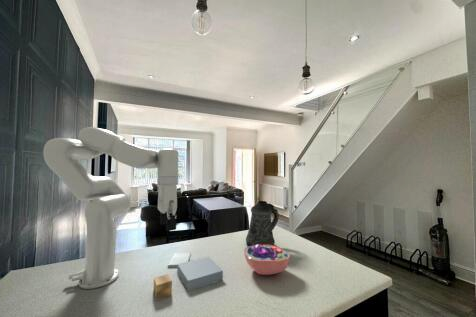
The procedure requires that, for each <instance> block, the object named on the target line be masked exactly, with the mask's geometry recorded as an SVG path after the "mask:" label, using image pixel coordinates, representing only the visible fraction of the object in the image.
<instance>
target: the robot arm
mask: <svg viewBox="0 0 476 317" xmlns="http://www.w3.org/2000/svg"><path fill="white" fill-rule="evenodd" d="M42 153H43V159H44V162H45V164H46V166H48V168H49V170H51V171H52V172H53V173H54V174H55V175H56V176H58V178H59V179H60V180H61V181H62V183H63V184H64V185H65V186H66V187H67V188H68V190H69V191H70V192H71V194H72V195H74V197H75V198H76V199H77V200H78V201H82V202H88V201H89V202H88V203H87V204H86V206H85V208H84V219H85V225H86V242H85V255H84V256H85V257H84V258H85V259H84V268H83V269H82V270H80V271H79V272H72V273H69V274H68V280H71V282H75V281H78V287H79V288H81V289H85V290H86V289H87V290H91V289H92V290H93V289H98V288H101V287H104V286H107V285H109V284H110V283H112V282H114V281H115V280H116V279H117V278H118V277H119V274H120V272H119V270H118V269H117V268H115V264H116V263H115V262H116V246H117V227H116V225H115V223H114V219H116V218H119V217H121V216H124V215H126V214H127V213H128V212H129V211H130V210H131V206H132V203H131V199H130V197H129V196H128V195H127V193H126V192H125V191H124V190H123V189H122V187H121V186H120V185H118V183H117V182H116V181H115V180H114V179H112V178H111V177H109V176H102V175H101V176H95V175H92V174H91V173H90V171H88V169H86V168H85V166H84V165H82V164H81V163H79V162H78V161H77V160H79V161H88V160H89V161H90V160H92V159H96V158H97V157H99V156H101V155H103V154H105V155H108V156H110V157H111V158H112V159H114V160H115V161H117V162H119V163H120V164H121V163H122V164H124V165H127V166H128V167H132V168H135V169H157V174H156V176H157V183H156V184H157V187H158V192H157V193H158V195H157V196H158V197H157V210H158V211H159V213H160V214H159V215H160V216H159V224H160V225H166V231H168V232H170V231H175V230H176V229H177V210H178V209H177V208H178V195H177V194H178V192H177V186H178V185H179V151H178V150H176V149H174V148H161V149H157V150H156V149H151V148H145V147H140V146H139V145H138V146H137V145H135V144H132V143H129V142H127V141H126V139H125V137H123V136H121V135H117V134H116V133H114V132H113V131H110V130H107V129H104V128H99V127H95V126H93V127H92V126H87V127H85V128H82V129H81V130H80V131H79V133H78V139H76V138H75V139H74V138H69V137H56V138H51V139H49V140H47V142H46V143H45V144H44V146H43V152H42Z"/></svg>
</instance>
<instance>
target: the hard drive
mask: <svg viewBox="0 0 476 317" xmlns="http://www.w3.org/2000/svg"><path fill="white" fill-rule="evenodd" d="M190 258H191V252H175V253H173V255H172V257H171V259H170V261H169V263H168V264H167V269H168V268H169V269H170V268H177V264H180V263H184V262H188V261H190Z"/></svg>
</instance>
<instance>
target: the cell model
mask: <svg viewBox="0 0 476 317" xmlns="http://www.w3.org/2000/svg"><path fill="white" fill-rule="evenodd" d="M243 255H244V257H245V260H246V263H247V265H248V266H249V267H250V268H251V270H253V271H254V272H255V273H256V274H258V275H260V276H267V275H274V274H280V273H283V272H284V271H285V270H286V269H287V268H288V266H289V265H288V264H289V261H290V257H291V253H290V252H288V251H287V250H285V249H283V248H282V247H279V246H276V245H274V246H272V245H260V244H257V245H253V246H248V247H247V246H246V247H245V248H244V249H243Z"/></svg>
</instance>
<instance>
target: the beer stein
mask: <svg viewBox="0 0 476 317" xmlns="http://www.w3.org/2000/svg"><path fill="white" fill-rule="evenodd" d="M250 212H251V216H250V221H249V227H248V231H247V234H246V237H245V243H246V247H248V246H253V245H257V244H260V245H272V246H275V237H274V233H273V230H274V229H275V227H276V226H277V224H278V221H279V217H280V215H279V214H280V213H279V212H278V209H277V208H275V206H274V205H273V204H272V203H268V202H267V200H266V201H265V200H258V201H257V203H256V204H254V205H253V206H252V207H251V208H250ZM272 214H273V218H272V217H271V215H272Z"/></svg>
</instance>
